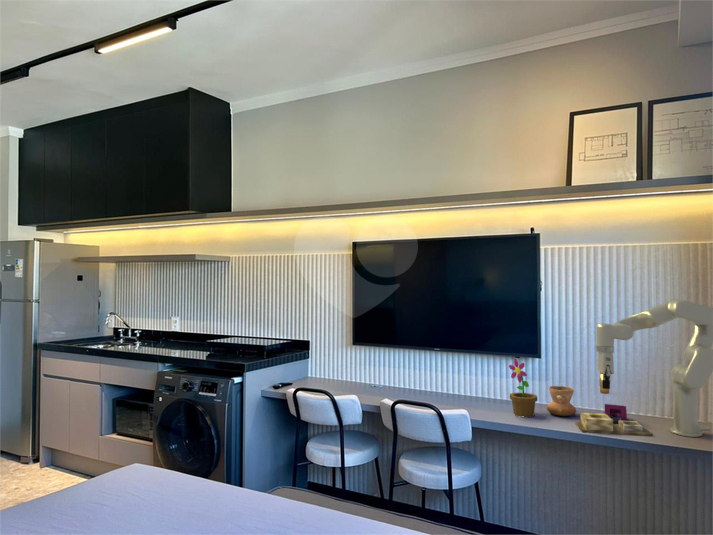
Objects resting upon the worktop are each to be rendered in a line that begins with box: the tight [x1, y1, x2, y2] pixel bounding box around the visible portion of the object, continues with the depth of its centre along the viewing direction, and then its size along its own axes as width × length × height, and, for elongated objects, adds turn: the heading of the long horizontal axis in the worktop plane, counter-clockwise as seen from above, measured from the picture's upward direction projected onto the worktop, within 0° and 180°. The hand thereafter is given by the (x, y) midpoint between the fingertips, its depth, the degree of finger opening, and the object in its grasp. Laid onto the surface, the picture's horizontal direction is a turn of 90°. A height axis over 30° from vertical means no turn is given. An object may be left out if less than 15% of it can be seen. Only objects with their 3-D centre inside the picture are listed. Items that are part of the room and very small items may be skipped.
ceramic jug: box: [546, 385, 577, 417], centre depth 263 cm, size 18×14×14 cm
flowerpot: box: [508, 358, 538, 418], centre depth 262 cm, size 14×14×30 cm
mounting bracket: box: [604, 403, 628, 421], centre depth 249 cm, size 10×8×18 cm
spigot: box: [599, 373, 610, 395], centre depth 236 cm, size 4×4×9 cm
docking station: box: [574, 412, 653, 437], centre depth 234 cm, size 30×14×6 cm, turn 78°
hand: (604, 387), depth 236 cm, fingers closed on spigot, 4 cm apart
